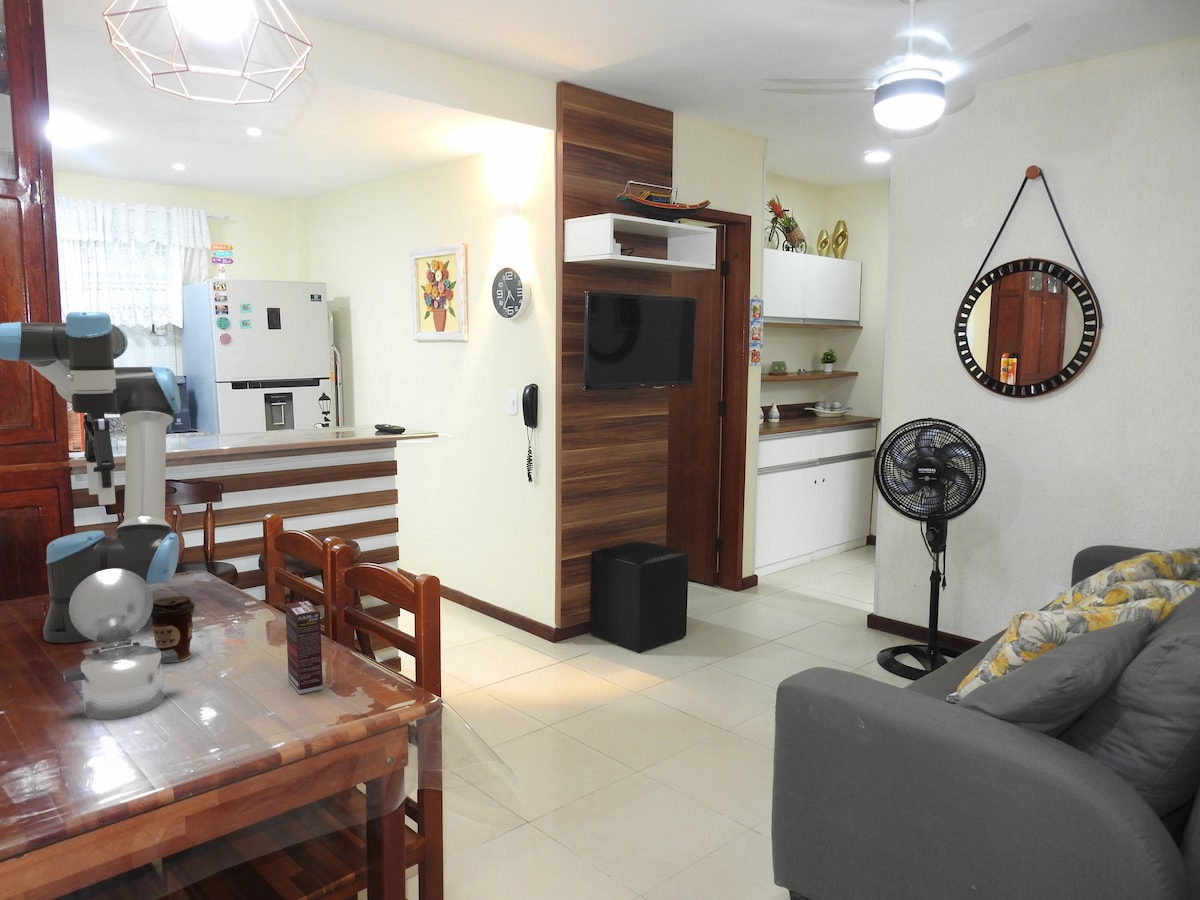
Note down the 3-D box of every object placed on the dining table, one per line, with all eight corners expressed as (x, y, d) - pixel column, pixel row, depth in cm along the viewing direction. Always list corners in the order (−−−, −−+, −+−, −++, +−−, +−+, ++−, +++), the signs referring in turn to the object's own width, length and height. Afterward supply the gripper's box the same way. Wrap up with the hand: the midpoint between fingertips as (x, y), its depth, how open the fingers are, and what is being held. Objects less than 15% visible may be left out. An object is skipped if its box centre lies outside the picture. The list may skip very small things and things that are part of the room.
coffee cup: (177, 667, 175) (173, 607, 173) (142, 664, 176) (138, 604, 175) (205, 652, 183) (201, 595, 181) (171, 650, 185) (168, 592, 183)
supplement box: (324, 689, 163) (321, 610, 162) (299, 695, 161) (295, 615, 159) (312, 675, 171) (308, 599, 169) (287, 680, 168) (283, 603, 166)
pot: (63, 702, 157) (59, 656, 156) (170, 679, 168) (167, 636, 167) (71, 730, 146) (67, 680, 145) (185, 703, 157) (182, 657, 156)
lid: (73, 655, 157) (72, 653, 160) (157, 640, 165) (154, 638, 168) (66, 575, 157) (64, 574, 160) (149, 563, 165) (147, 563, 168)
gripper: (63, 389, 171) (72, 491, 174) (79, 396, 152) (88, 511, 155) (106, 388, 176) (113, 487, 179) (126, 394, 156) (134, 506, 159)
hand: (102, 499), depth 167 cm, fingers open, 13 cm apart
